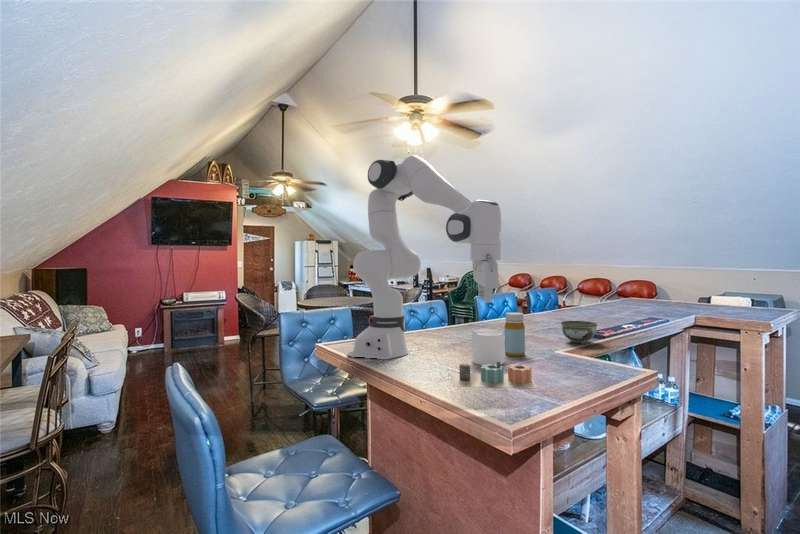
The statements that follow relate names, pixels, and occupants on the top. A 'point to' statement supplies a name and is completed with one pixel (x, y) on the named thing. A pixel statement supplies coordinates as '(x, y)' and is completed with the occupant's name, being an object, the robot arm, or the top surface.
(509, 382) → the gear board
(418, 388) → the top surface
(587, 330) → the bowl
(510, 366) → the gear
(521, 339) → the bottle
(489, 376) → the gear
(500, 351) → the mug
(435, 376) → the top surface
